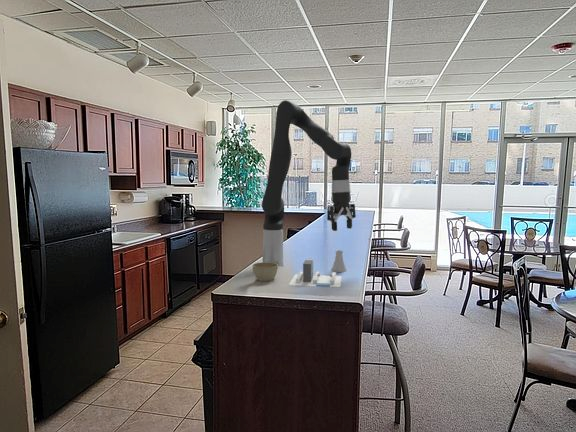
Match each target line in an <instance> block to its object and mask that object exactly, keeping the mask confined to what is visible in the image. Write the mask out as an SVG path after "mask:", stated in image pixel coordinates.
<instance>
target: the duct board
mask: <svg viewBox="0 0 576 432" xmlns="http://www.w3.org/2000/svg"><path fill="white" fill-rule="evenodd" d="M341 283H342V275H337V272H334V271H332V272H331V273H330V275H323V274H321V272H320V271H316V272H315V274H313V278H312V281H311V282H303V270H299V273H297V274H296V273H295V274H294V275H293V277H292V279H291V280H290V282H289V283H288V286H304V287H305V286H306V287H307V286H308V287H324V288H325V287H326V288H327V287H328V288H331V287H332V288H341Z"/></svg>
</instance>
